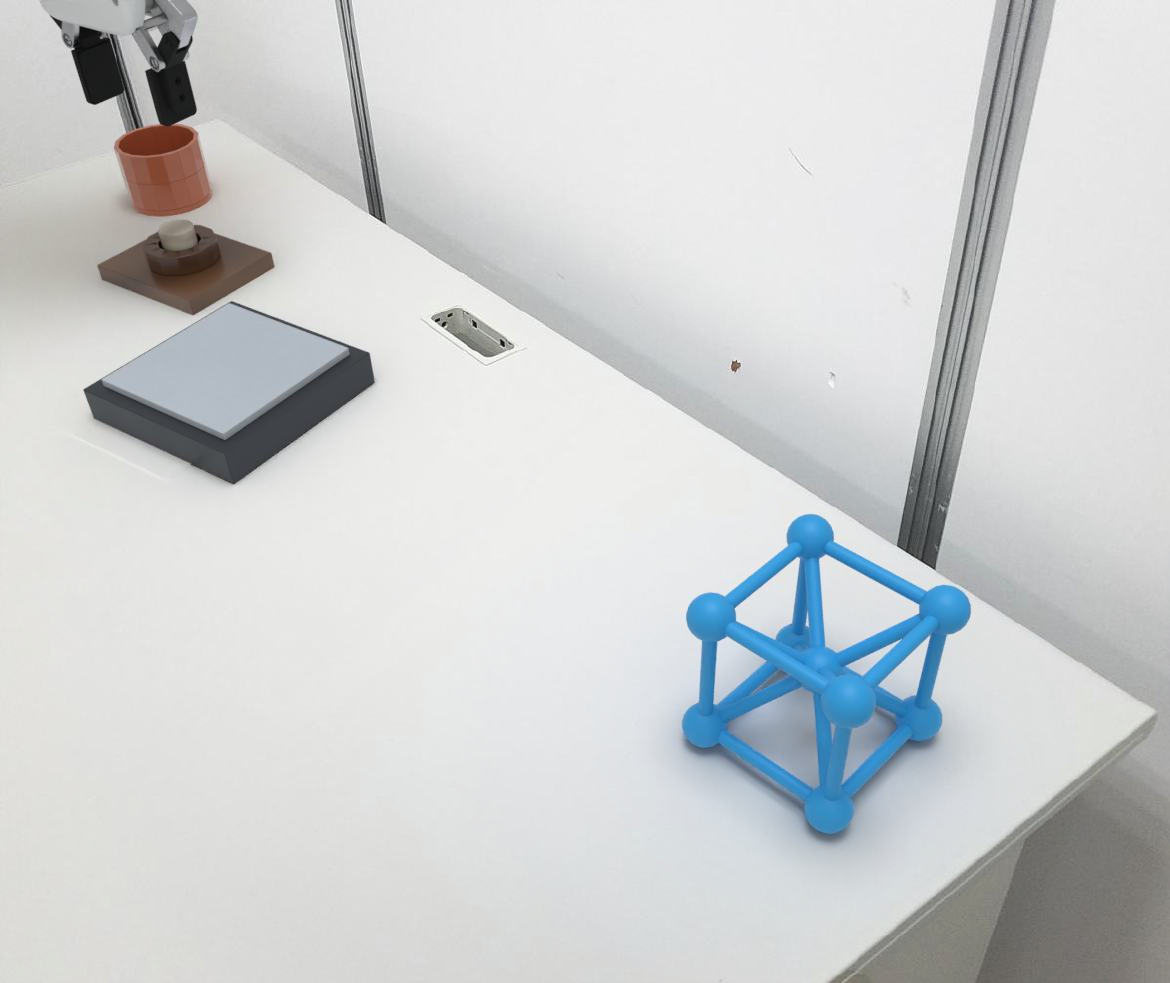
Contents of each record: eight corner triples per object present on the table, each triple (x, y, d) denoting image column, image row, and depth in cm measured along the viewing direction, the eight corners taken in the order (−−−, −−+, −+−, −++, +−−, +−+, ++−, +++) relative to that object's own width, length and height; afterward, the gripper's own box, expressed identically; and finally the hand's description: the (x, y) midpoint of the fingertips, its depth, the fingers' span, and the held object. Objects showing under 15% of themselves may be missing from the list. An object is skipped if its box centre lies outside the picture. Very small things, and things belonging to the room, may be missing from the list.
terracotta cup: (115, 205, 109) (96, 146, 106) (175, 175, 114) (160, 117, 110) (169, 224, 106) (152, 163, 103) (229, 192, 111) (214, 133, 107)
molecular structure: (790, 637, 67) (807, 498, 60) (947, 731, 62) (985, 590, 55) (671, 740, 62) (676, 600, 55) (832, 852, 57) (858, 712, 50)
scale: (87, 416, 85) (73, 379, 83) (233, 327, 93) (223, 291, 91) (233, 484, 79) (222, 446, 77) (375, 382, 87) (368, 345, 85)
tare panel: (101, 280, 99) (90, 246, 97) (184, 236, 105) (175, 203, 103) (193, 316, 95) (183, 282, 93) (275, 268, 100) (267, 234, 98)
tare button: (155, 247, 98) (150, 229, 97) (181, 233, 99) (176, 216, 98) (179, 256, 96) (174, 238, 95) (205, 242, 98) (200, 224, 97)
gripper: (-66, -165, 80) (27, 103, 92) (108, -136, 72) (184, 151, 84) (29, -188, 84) (105, 71, 96) (201, -163, 77) (261, 114, 89)
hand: (141, 107), depth 90 cm, fingers open, 7 cm apart
